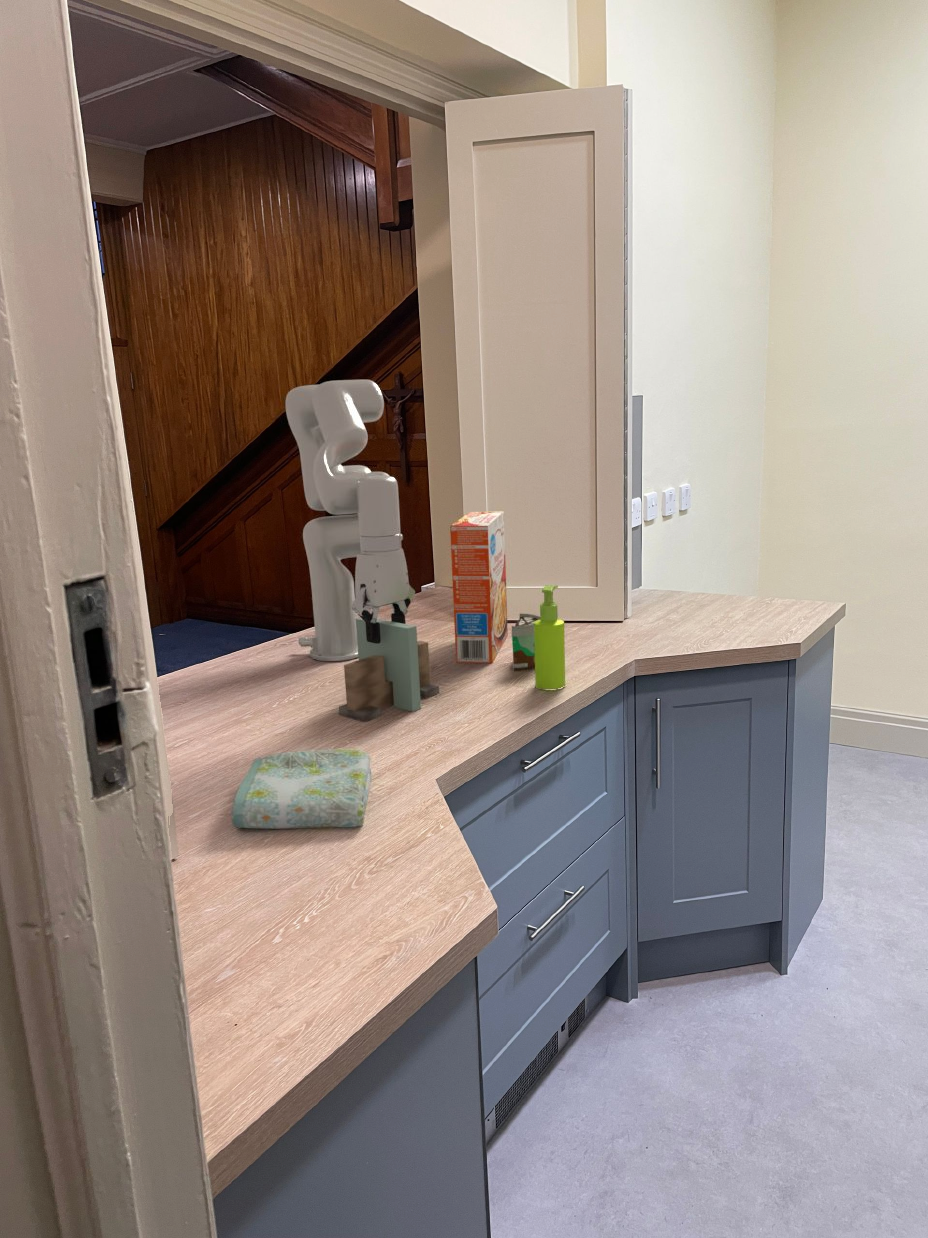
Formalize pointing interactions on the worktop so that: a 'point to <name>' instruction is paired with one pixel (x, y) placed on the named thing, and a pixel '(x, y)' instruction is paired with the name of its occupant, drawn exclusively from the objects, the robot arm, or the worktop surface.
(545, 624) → the soap dispenser
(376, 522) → the robot arm
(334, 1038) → the worktop surface
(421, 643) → the walnut slotted board
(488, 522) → the cereal box
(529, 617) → the food container
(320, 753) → the towel
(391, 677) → the sage slotted plate
